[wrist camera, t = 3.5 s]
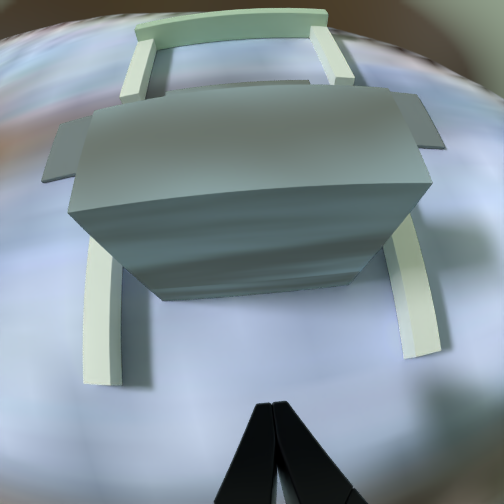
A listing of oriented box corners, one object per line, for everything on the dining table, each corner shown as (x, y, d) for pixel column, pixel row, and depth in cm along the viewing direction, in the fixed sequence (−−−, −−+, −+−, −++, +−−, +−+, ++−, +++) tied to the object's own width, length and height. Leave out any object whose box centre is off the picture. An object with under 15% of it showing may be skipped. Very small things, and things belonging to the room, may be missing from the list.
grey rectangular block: (347, 286, 17) (432, 182, 8) (163, 301, 17) (67, 212, 8) (305, 105, 22) (320, -13, 13) (172, 115, 22) (141, 1, 13)
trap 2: (109, 168, 20) (108, 166, 20) (43, 183, 20) (41, 180, 20) (122, 110, 22) (121, 108, 22) (61, 126, 22) (60, 124, 22)
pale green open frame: (427, 353, 15) (456, 346, 12) (96, 384, 15) (68, 382, 12) (322, 33, 26) (325, 9, 24) (143, 47, 26) (136, 24, 23)
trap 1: (443, 149, 20) (445, 146, 20) (376, 146, 20) (378, 143, 20) (415, 96, 23) (416, 94, 22) (353, 91, 23) (354, 89, 22)
